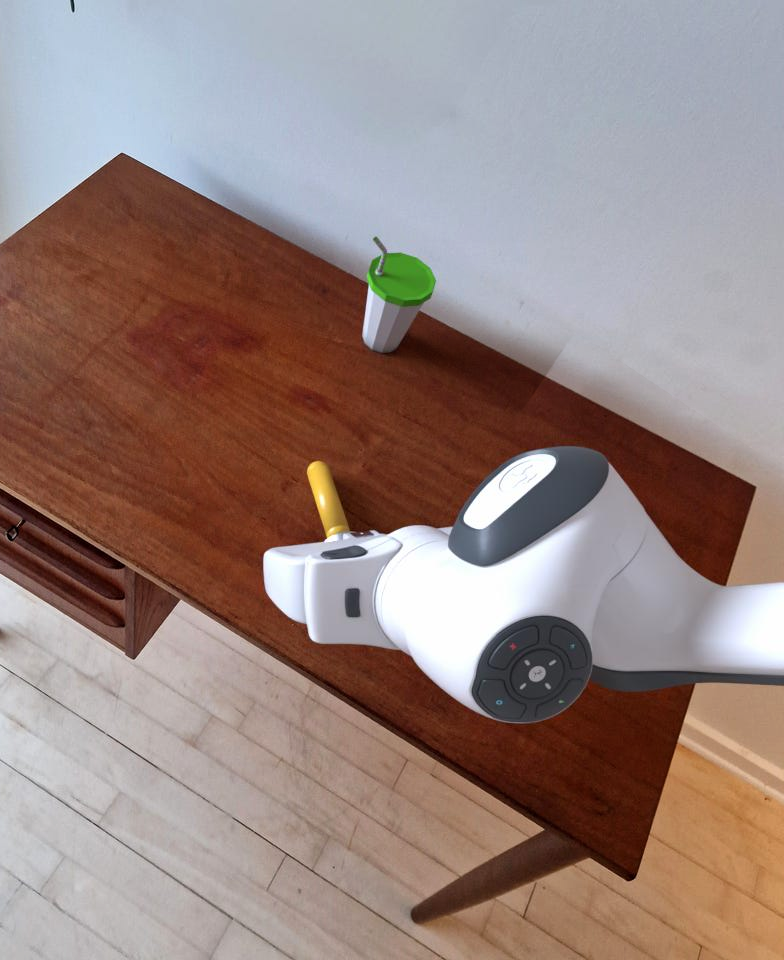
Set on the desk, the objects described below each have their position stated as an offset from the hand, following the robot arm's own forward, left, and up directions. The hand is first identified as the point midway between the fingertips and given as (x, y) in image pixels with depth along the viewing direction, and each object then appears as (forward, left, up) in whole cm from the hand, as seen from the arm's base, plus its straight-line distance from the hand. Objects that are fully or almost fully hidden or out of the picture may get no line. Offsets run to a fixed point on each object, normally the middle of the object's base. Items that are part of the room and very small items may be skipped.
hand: (358, 540), depth 75 cm
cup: (+17, -30, -9) cm, 36 cm away
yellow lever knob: (-1, 0, -6) cm, 6 cm away
